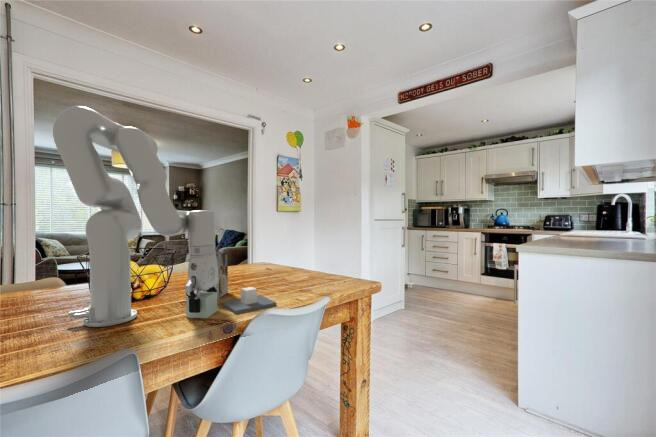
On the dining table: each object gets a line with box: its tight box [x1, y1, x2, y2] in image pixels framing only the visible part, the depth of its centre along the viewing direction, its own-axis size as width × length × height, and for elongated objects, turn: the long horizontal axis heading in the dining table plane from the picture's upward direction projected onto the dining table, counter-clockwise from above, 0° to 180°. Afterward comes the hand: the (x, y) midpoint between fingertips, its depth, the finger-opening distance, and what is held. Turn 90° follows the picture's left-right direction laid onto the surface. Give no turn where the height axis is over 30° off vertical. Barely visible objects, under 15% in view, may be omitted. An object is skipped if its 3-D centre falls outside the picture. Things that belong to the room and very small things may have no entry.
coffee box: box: [201, 250, 229, 300], centre depth 113 cm, size 9×6×16 cm
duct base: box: [221, 286, 277, 315], centre depth 101 cm, size 14×12×6 cm
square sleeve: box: [185, 291, 218, 319], centre depth 92 cm, size 6×6×6 cm
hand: (203, 307), depth 92 cm, fingers open, 9 cm apart
